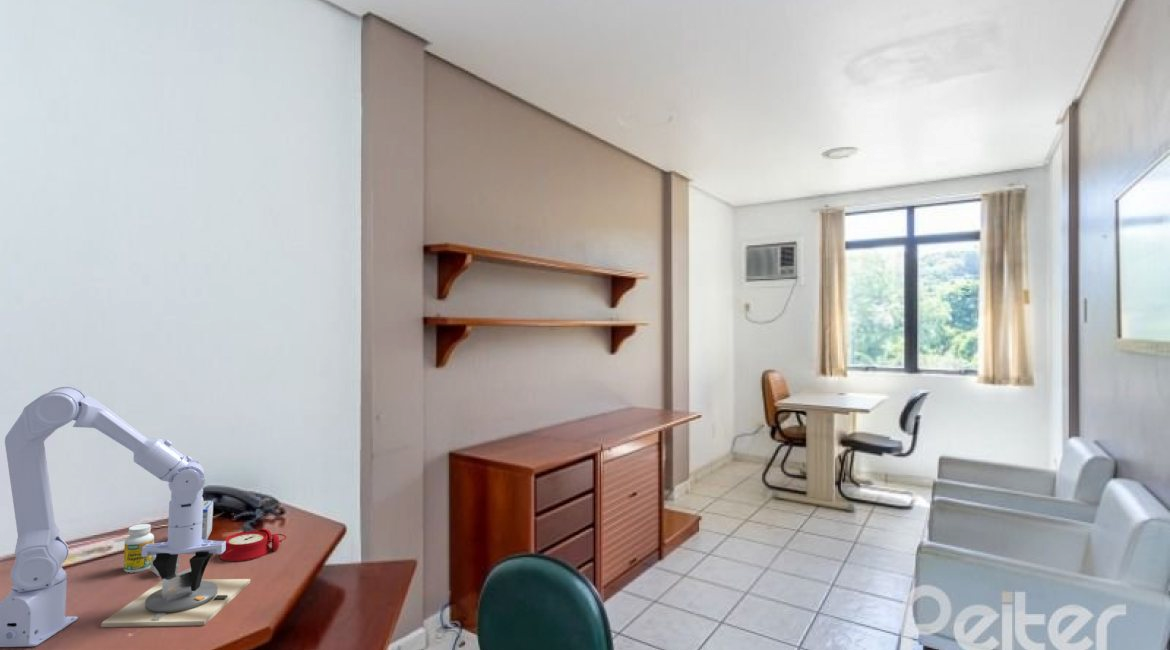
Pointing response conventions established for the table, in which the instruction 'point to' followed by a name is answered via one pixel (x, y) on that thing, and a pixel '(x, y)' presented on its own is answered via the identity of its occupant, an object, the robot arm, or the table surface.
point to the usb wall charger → (156, 569)
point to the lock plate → (198, 615)
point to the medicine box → (207, 519)
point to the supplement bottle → (137, 548)
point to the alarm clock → (250, 545)
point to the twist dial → (180, 594)
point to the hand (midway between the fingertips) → (182, 589)
